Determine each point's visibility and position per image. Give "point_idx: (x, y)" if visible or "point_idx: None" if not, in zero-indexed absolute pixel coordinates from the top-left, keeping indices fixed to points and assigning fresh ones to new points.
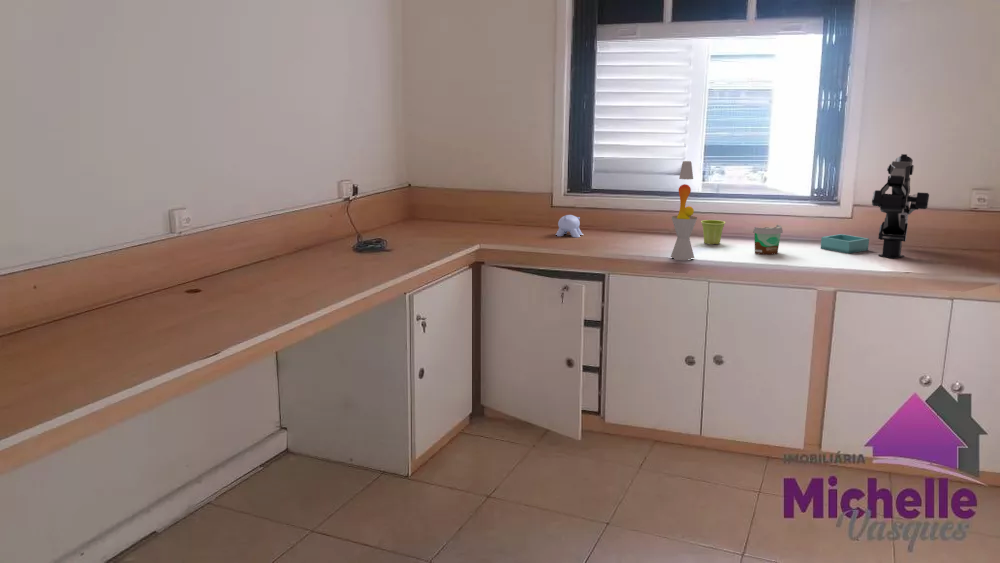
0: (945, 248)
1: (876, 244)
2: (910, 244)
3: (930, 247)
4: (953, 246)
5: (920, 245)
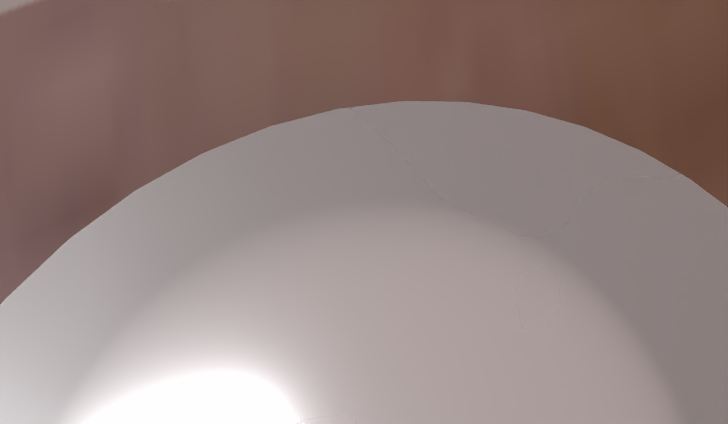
0: (647, 141)
1: (50, 221)
2: (372, 64)
3: None
4: (679, 15)
5: (456, 80)
